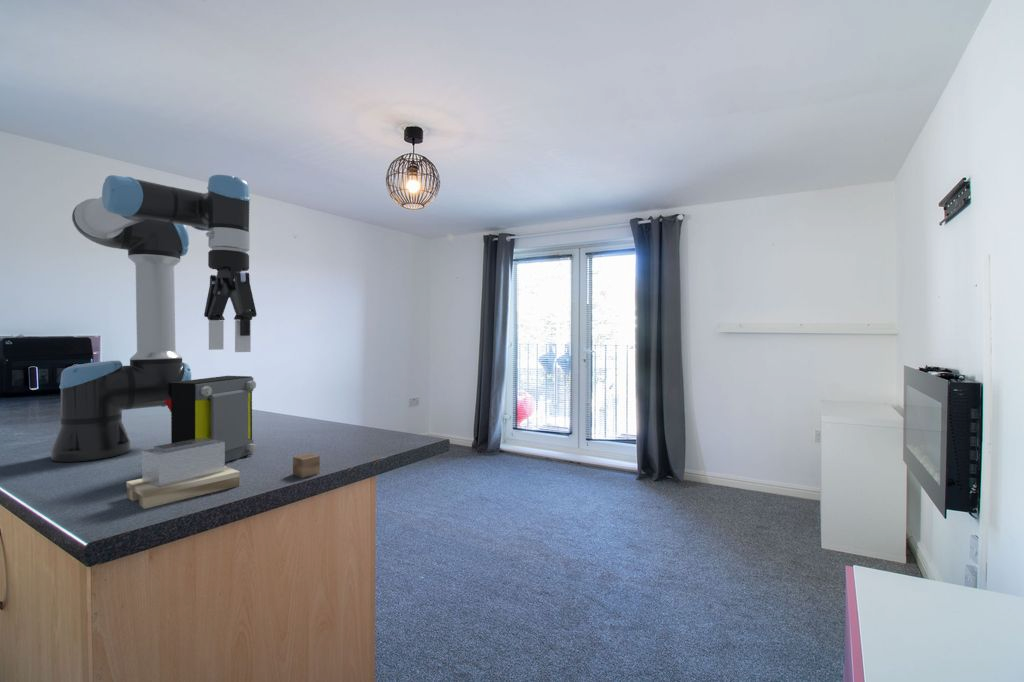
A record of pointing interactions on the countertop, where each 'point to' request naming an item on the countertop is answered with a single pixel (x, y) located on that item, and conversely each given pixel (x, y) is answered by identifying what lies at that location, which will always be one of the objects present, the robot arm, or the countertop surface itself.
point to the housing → (182, 461)
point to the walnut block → (306, 465)
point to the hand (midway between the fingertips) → (228, 350)
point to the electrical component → (214, 412)
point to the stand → (181, 488)
